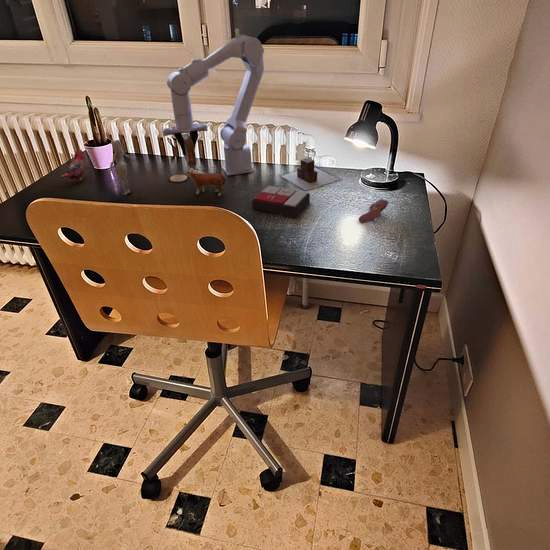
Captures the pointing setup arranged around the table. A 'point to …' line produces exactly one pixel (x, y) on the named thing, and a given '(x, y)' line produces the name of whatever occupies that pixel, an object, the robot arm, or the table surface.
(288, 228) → the table surface
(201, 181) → the bull figurine
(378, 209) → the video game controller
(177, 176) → the cork coaster
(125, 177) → the human figurine
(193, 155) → the tin
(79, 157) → the decorative bird figurine
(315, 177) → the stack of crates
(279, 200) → the red and grey box
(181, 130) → the robot arm
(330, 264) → the table surface
